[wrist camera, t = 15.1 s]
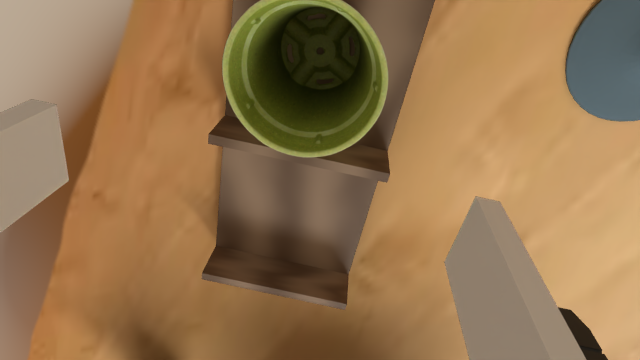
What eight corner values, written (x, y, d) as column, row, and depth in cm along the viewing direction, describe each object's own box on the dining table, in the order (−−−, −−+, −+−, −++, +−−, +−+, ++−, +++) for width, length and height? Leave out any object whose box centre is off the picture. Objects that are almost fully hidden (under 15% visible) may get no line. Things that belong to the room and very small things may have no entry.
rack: (445, -46, 26) (462, -45, 22) (347, 271, 42) (344, 309, 37) (244, -91, 26) (219, -100, 22) (219, 244, 42) (201, 279, 37)
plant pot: (273, 116, 32) (246, 164, 25) (244, -8, 28) (199, 6, 20) (387, 101, 31) (394, 149, 23) (376, -32, 26) (379, -26, 19)
